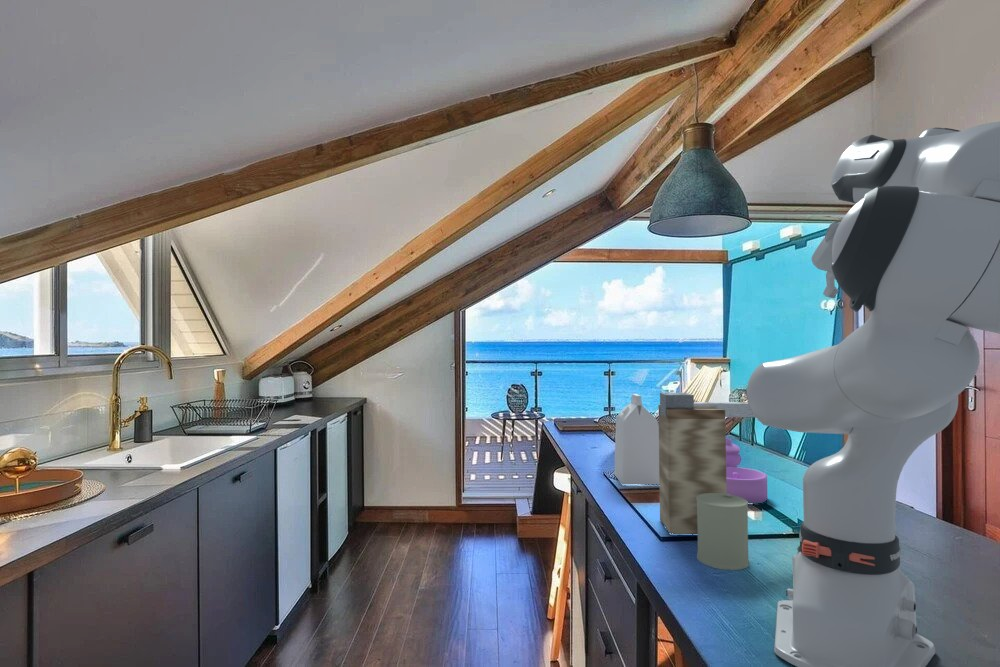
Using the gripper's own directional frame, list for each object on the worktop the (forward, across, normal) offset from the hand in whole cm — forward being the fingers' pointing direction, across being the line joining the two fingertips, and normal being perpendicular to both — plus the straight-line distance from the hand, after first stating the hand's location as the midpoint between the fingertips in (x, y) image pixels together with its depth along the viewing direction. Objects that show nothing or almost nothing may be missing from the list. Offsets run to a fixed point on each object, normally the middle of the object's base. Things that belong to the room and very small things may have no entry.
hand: (854, 302), depth 96 cm
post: (+57, -9, -5) cm, 58 cm away
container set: (+67, +11, +24) cm, 72 cm away
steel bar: (+35, -11, +7) cm, 37 cm away
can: (+49, -9, -21) cm, 54 cm away
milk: (+78, -12, +31) cm, 85 cm away
